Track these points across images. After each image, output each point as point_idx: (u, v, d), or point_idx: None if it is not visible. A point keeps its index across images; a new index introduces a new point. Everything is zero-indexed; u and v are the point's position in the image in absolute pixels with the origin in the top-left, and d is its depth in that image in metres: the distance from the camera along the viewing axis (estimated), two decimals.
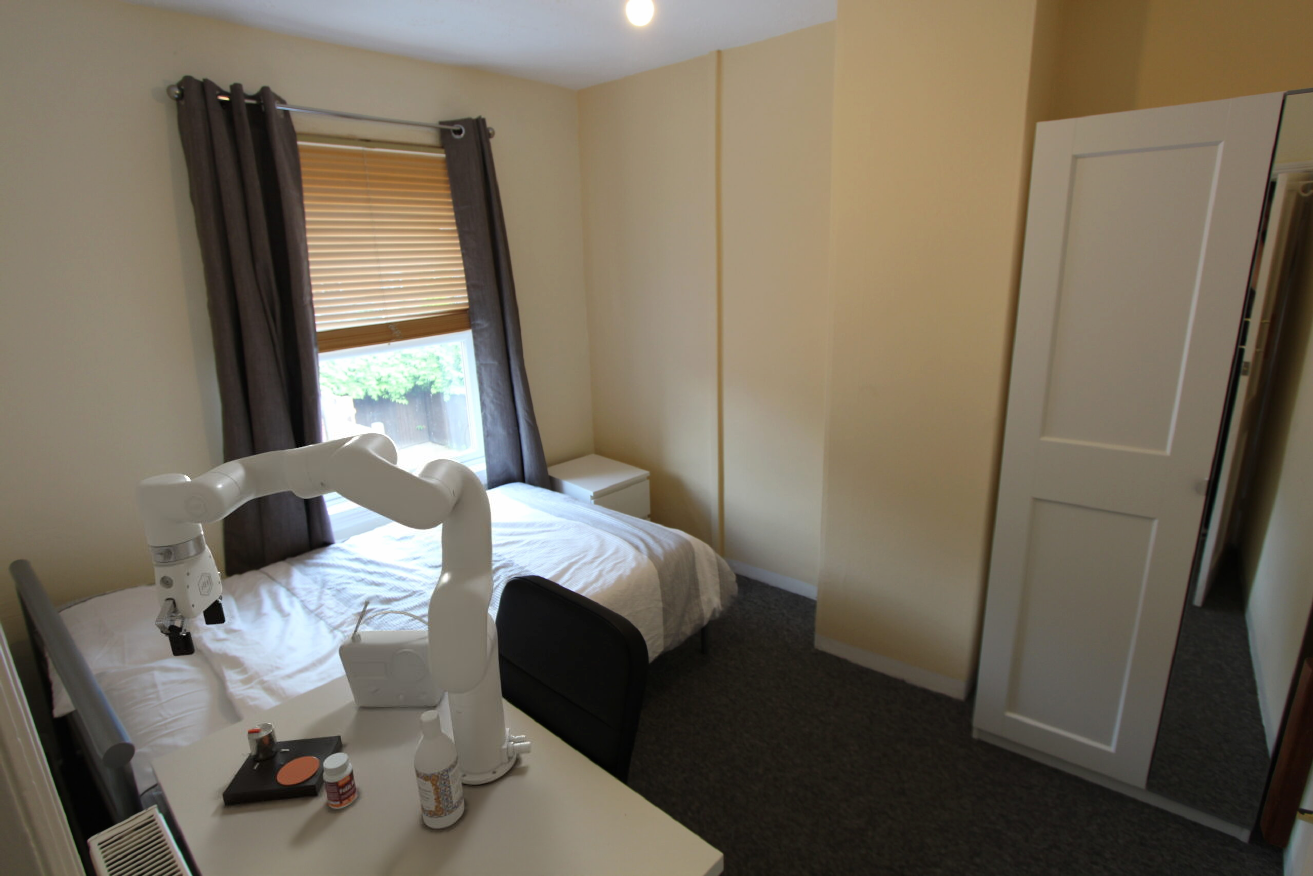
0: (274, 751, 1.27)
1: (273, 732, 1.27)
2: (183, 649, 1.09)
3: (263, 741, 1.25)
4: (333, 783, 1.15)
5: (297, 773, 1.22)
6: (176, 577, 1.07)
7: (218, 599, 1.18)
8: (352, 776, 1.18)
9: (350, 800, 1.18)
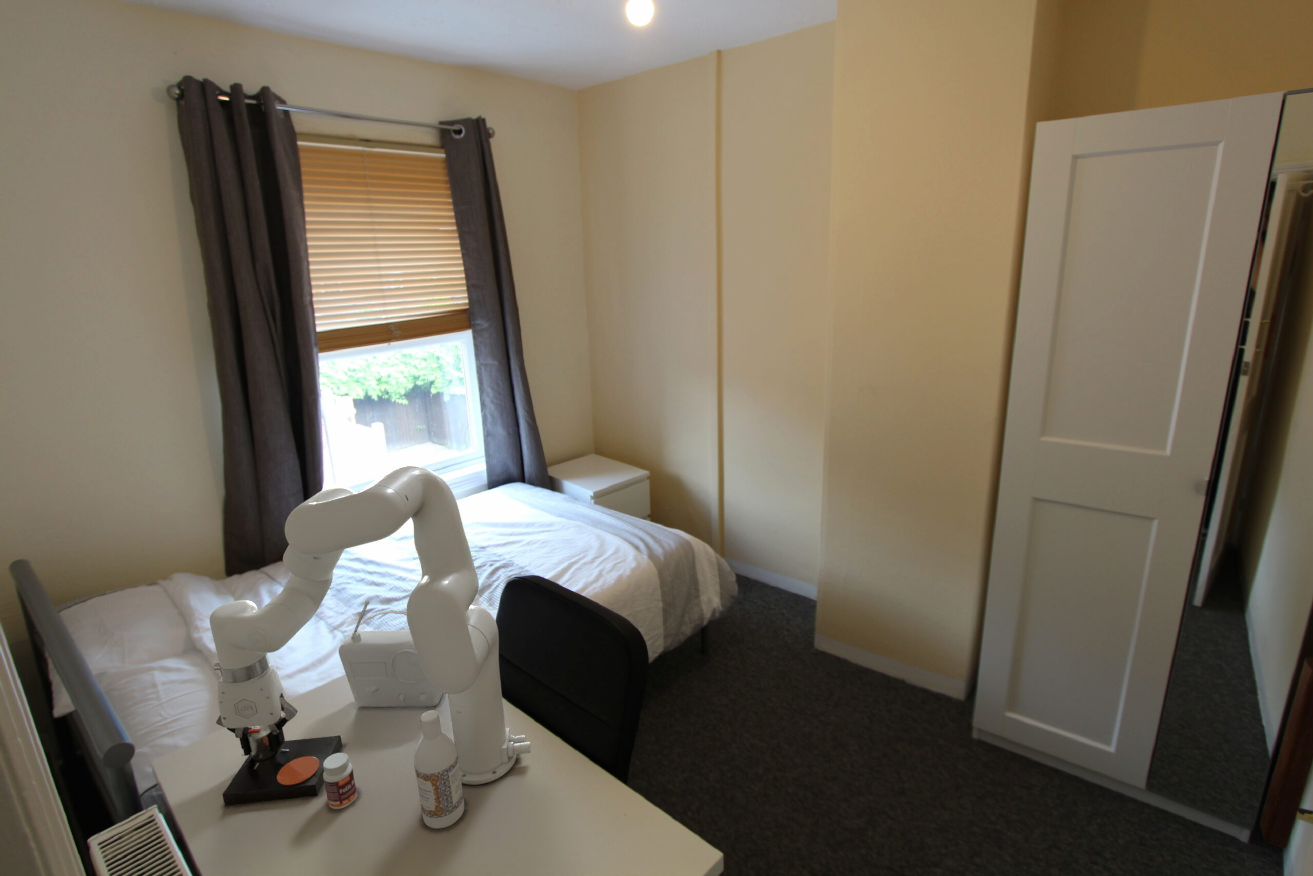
0: None
1: None
2: (241, 747, 1.26)
3: (263, 741, 1.25)
4: (333, 783, 1.15)
5: (297, 773, 1.22)
6: (218, 689, 1.21)
7: (271, 731, 1.25)
8: (352, 776, 1.18)
9: (350, 800, 1.18)
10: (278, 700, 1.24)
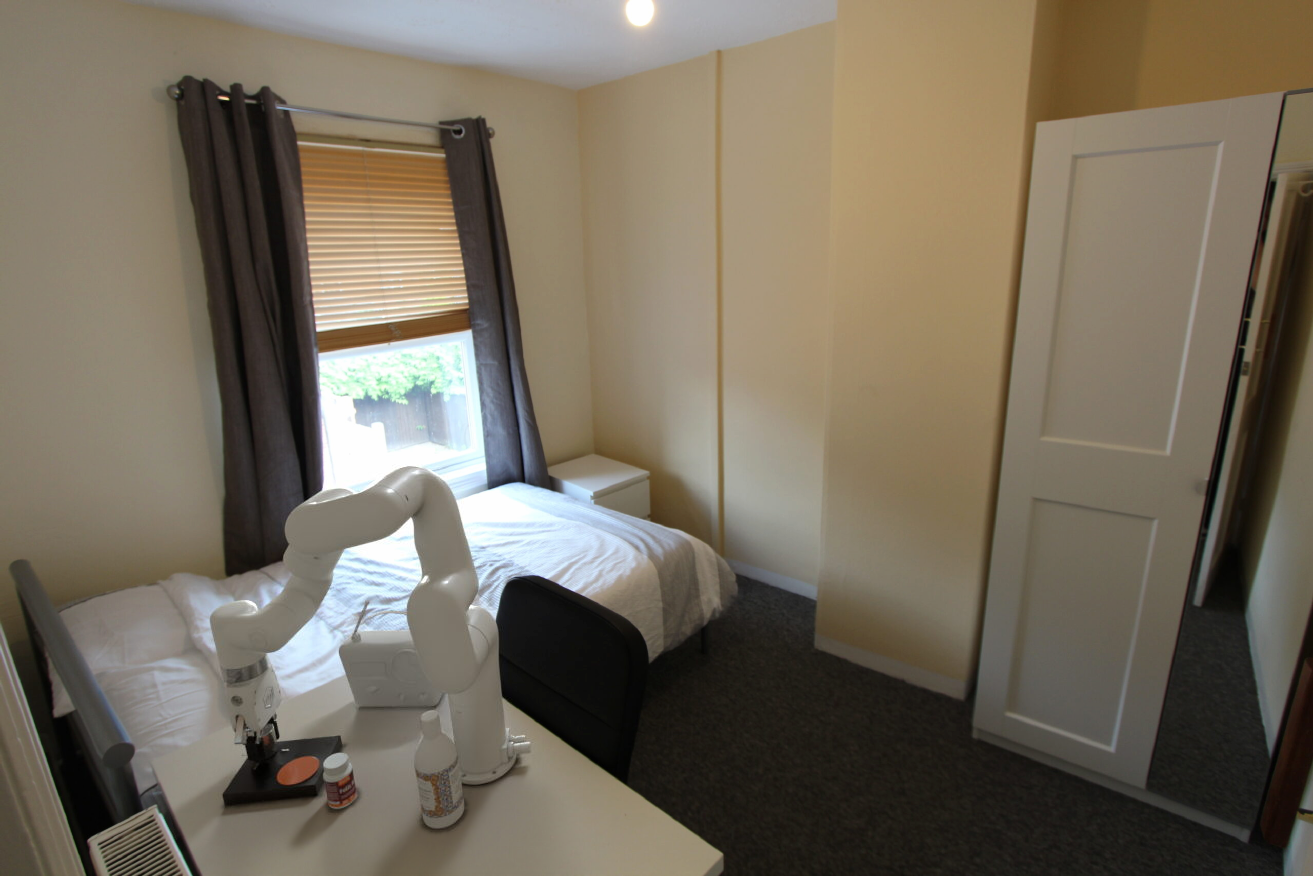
0: None
1: None
2: (257, 755, 1.24)
3: (274, 730, 1.28)
4: (333, 783, 1.15)
5: (297, 773, 1.22)
6: (245, 696, 1.19)
7: (273, 718, 1.29)
8: (352, 776, 1.18)
9: (350, 800, 1.18)
10: None
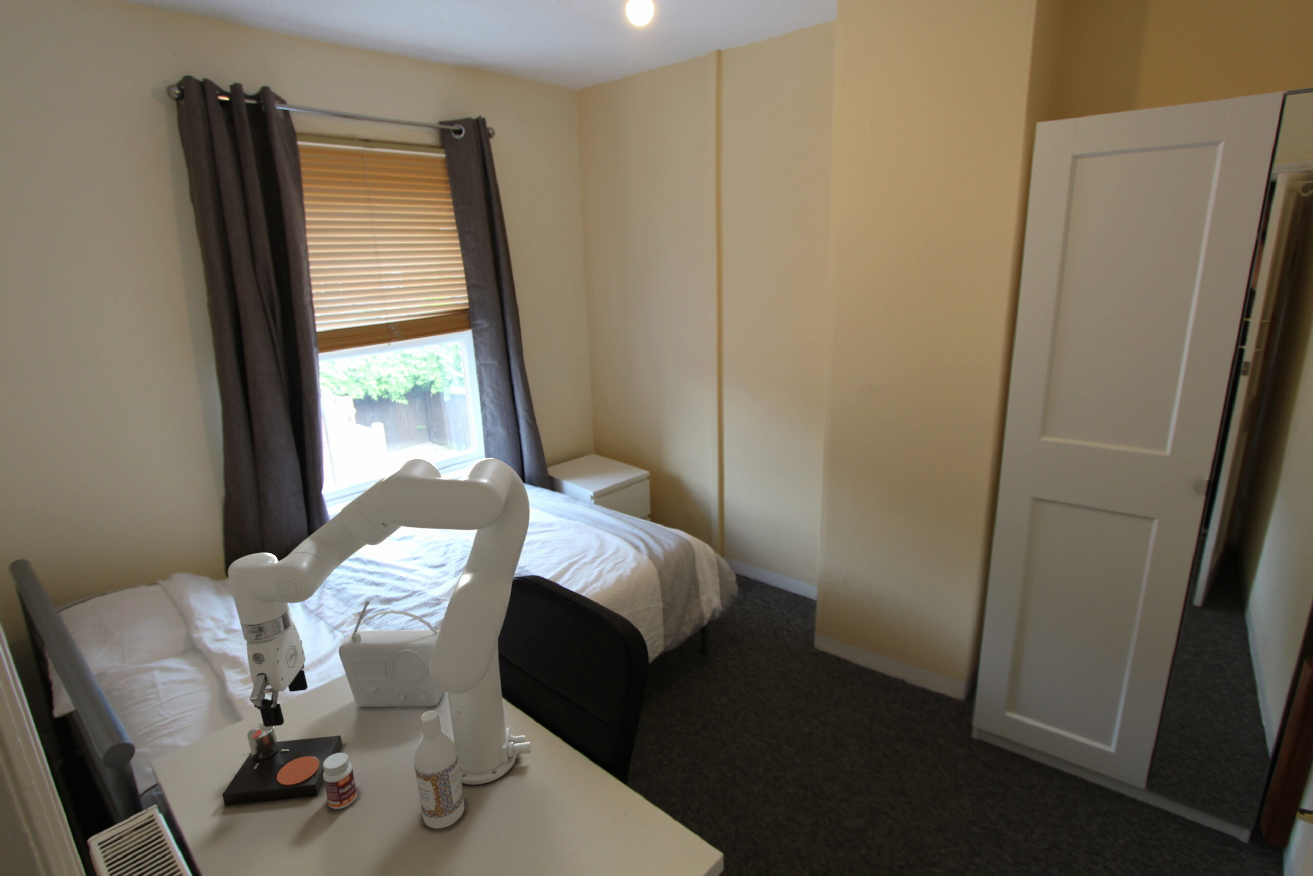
0: None
1: None
2: (274, 720, 1.14)
3: (274, 730, 1.28)
4: (333, 783, 1.15)
5: (297, 773, 1.22)
6: (267, 653, 1.12)
7: None
8: (352, 776, 1.18)
9: (350, 800, 1.18)
10: None
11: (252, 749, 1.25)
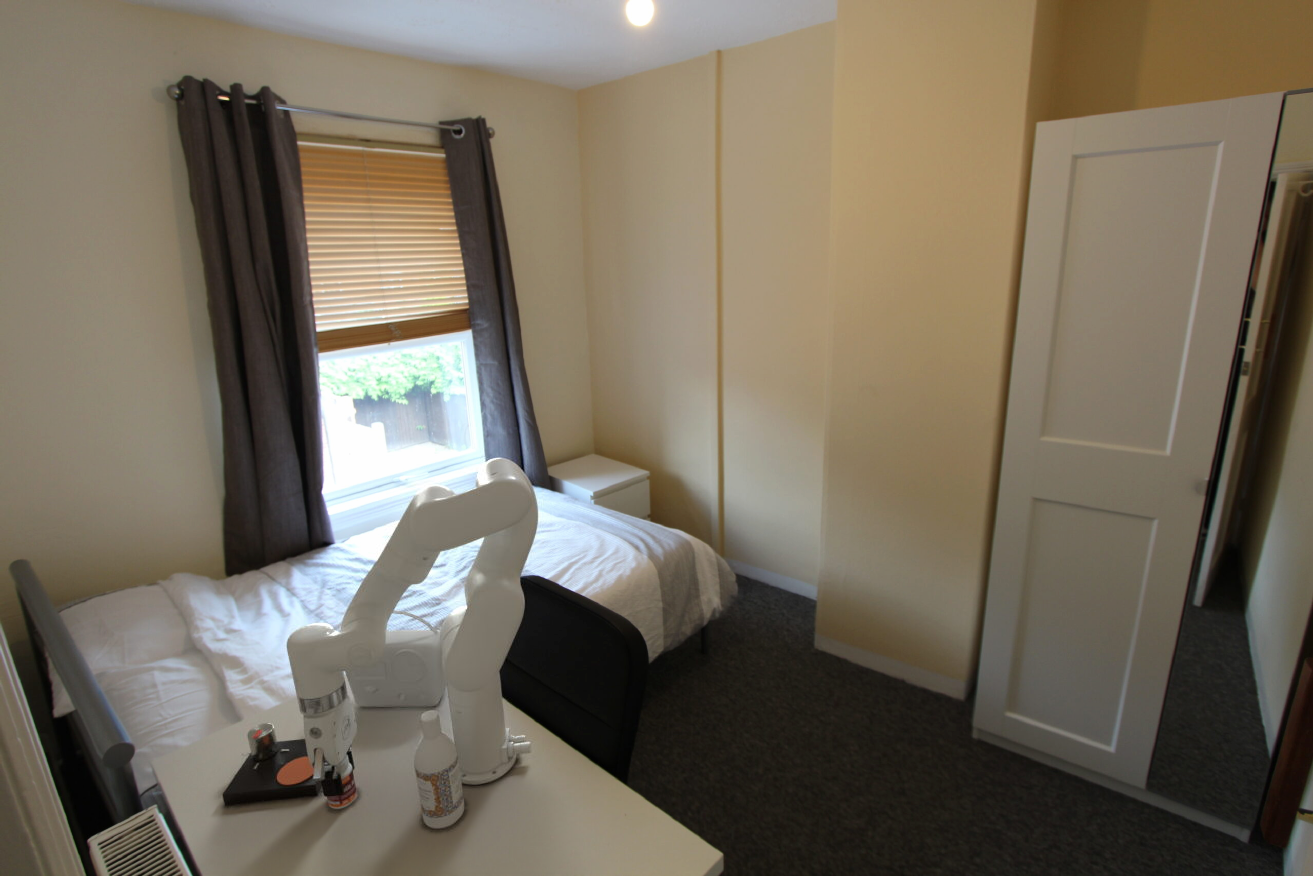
0: None
1: None
2: (334, 791, 1.14)
3: (274, 730, 1.28)
4: None
5: (297, 773, 1.22)
6: (325, 728, 1.10)
7: (348, 748, 1.20)
8: (352, 776, 1.18)
9: (350, 800, 1.18)
10: None
11: (252, 749, 1.25)
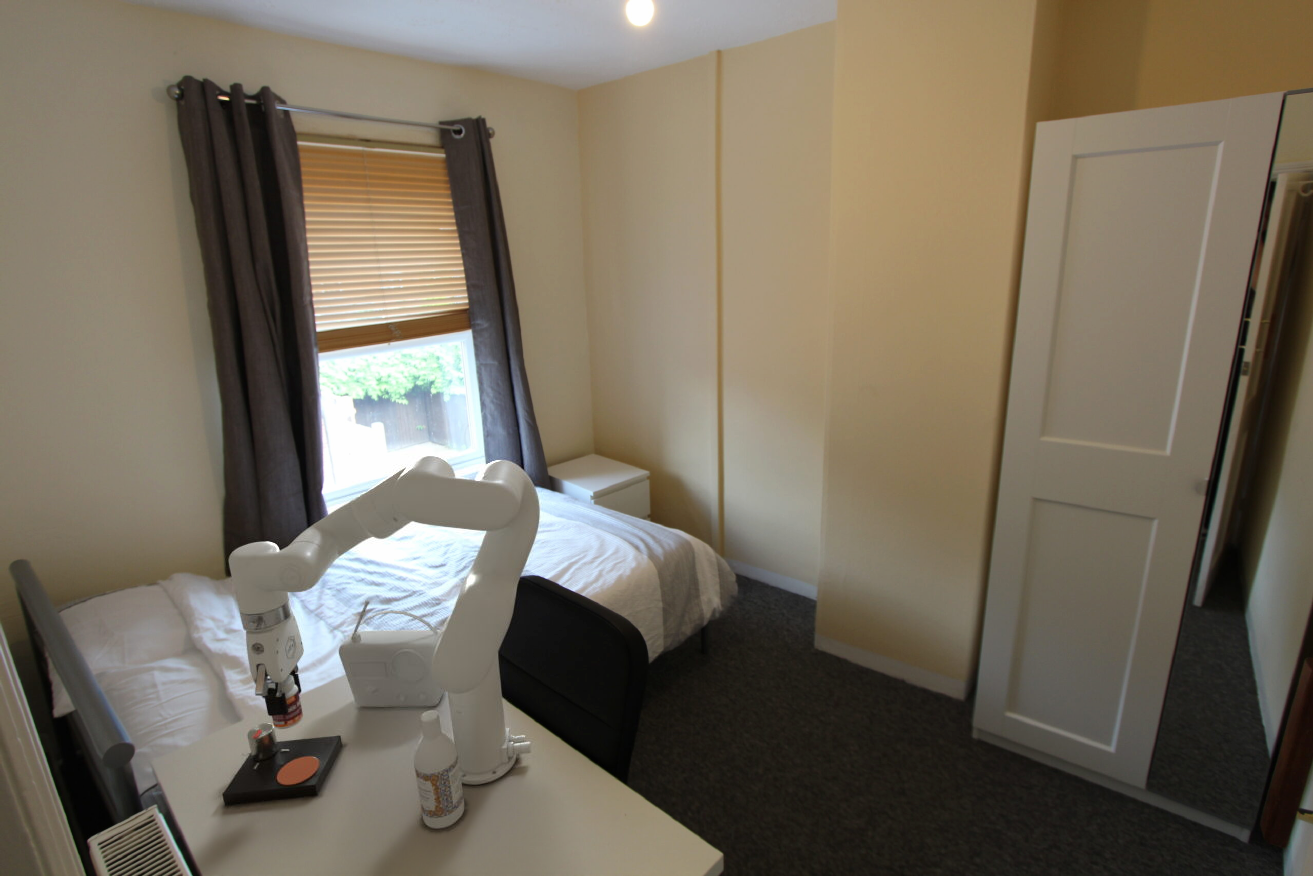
0: None
1: None
2: (278, 710, 1.15)
3: (274, 730, 1.28)
4: None
5: (297, 773, 1.22)
6: (267, 644, 1.10)
7: (295, 671, 1.20)
8: (297, 697, 1.18)
9: (295, 721, 1.18)
10: None
11: (252, 749, 1.25)
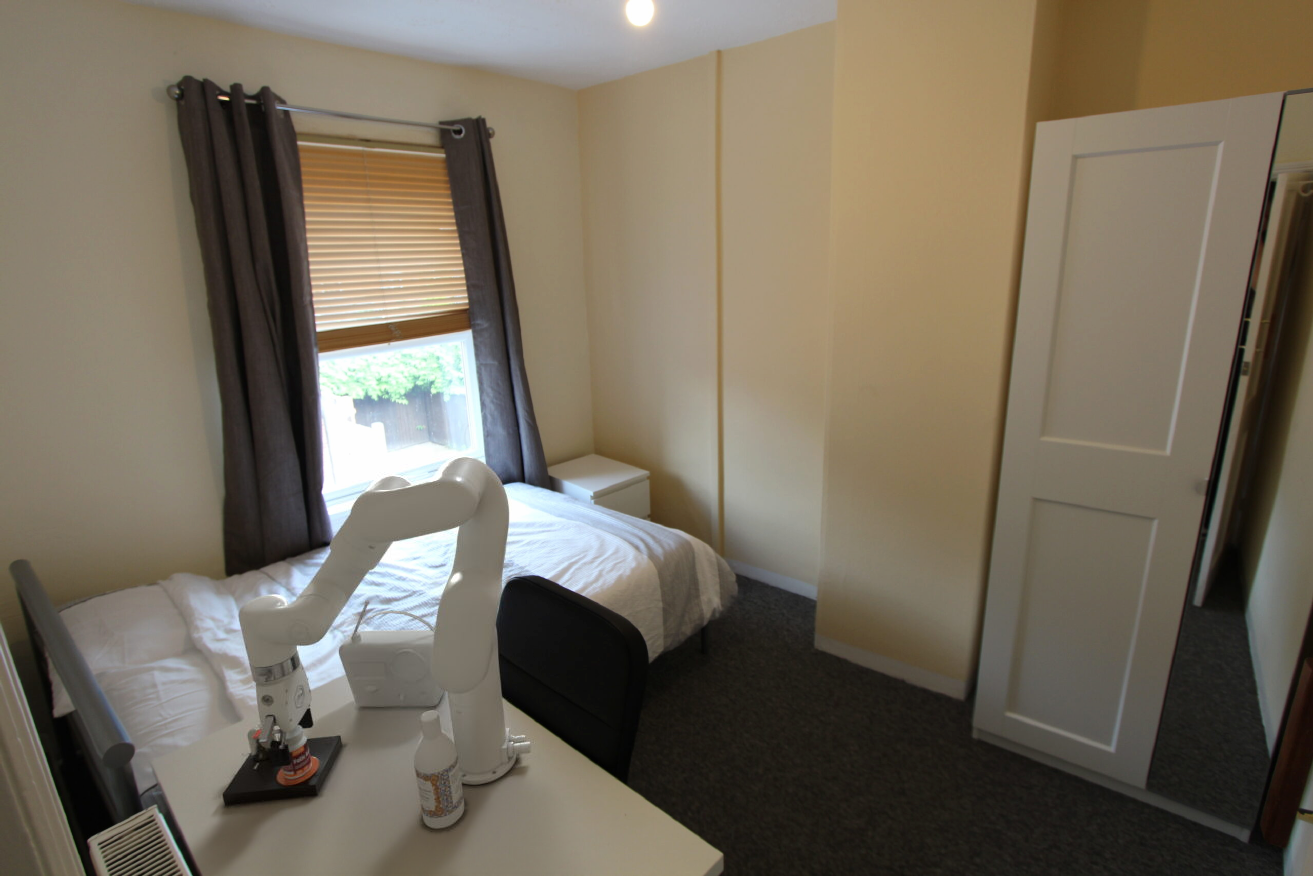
0: None
1: None
2: (282, 761, 1.15)
3: None
4: None
5: None
6: (277, 695, 1.13)
7: None
8: (306, 747, 1.22)
9: (304, 771, 1.21)
10: None
11: (252, 749, 1.25)
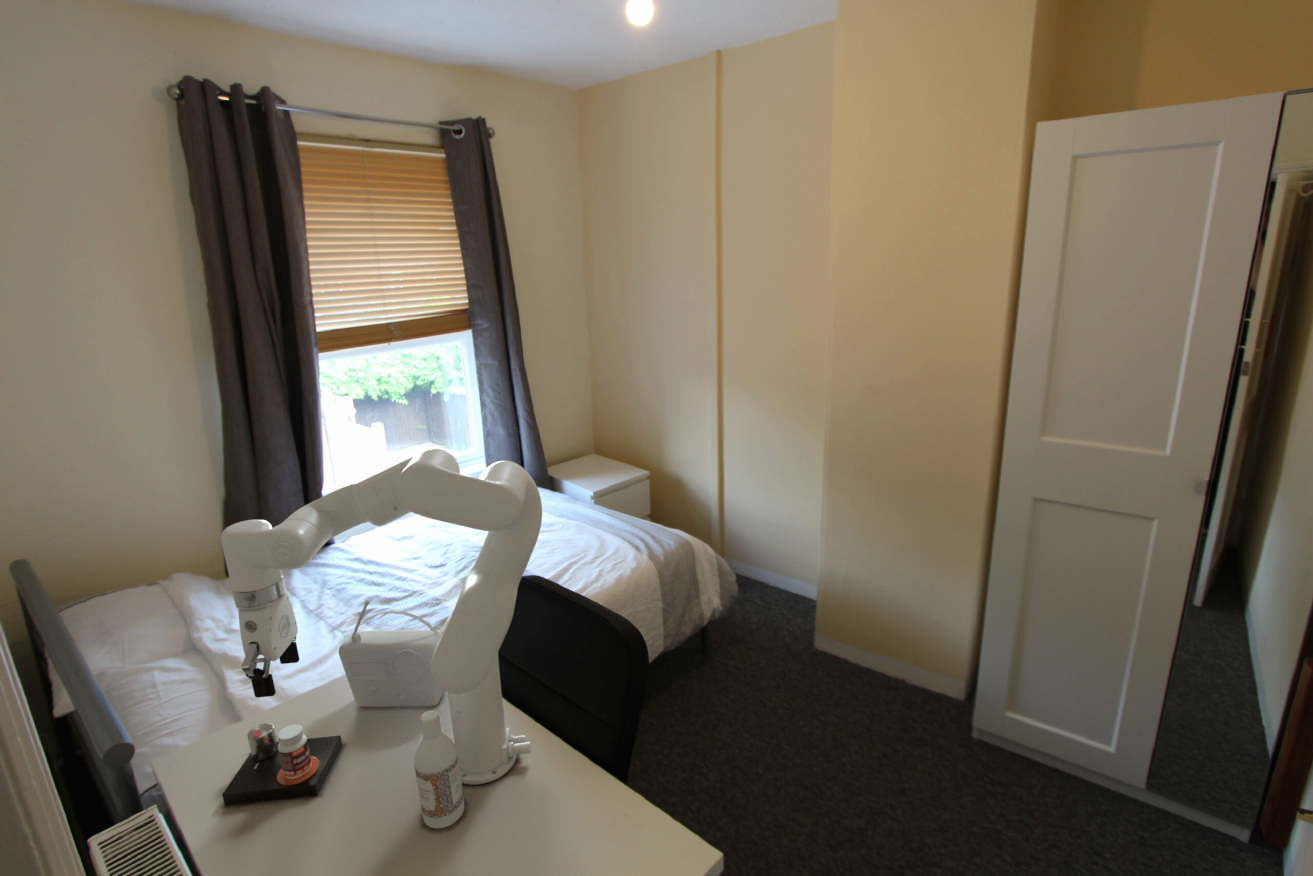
0: None
1: None
2: (265, 691, 1.12)
3: (274, 730, 1.28)
4: (287, 754, 1.19)
5: None
6: (260, 622, 1.10)
7: None
8: (306, 747, 1.22)
9: (304, 771, 1.21)
10: None
11: (252, 749, 1.25)
